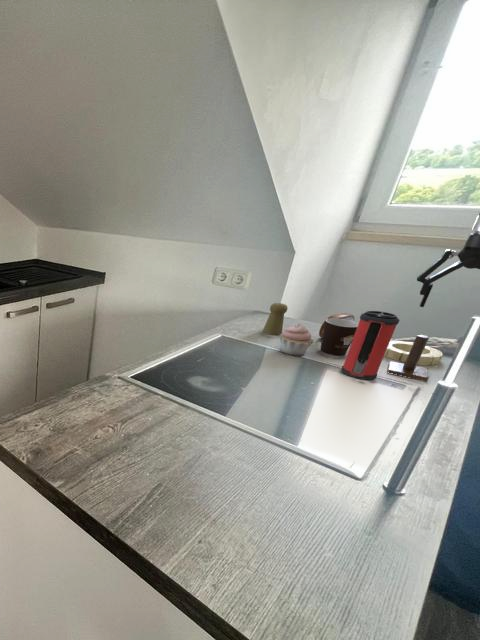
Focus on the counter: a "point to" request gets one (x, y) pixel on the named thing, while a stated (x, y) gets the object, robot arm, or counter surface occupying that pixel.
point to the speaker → (369, 344)
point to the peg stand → (412, 362)
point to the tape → (402, 349)
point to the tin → (337, 316)
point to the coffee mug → (337, 336)
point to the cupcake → (295, 340)
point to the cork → (275, 319)
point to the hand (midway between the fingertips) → (455, 310)
